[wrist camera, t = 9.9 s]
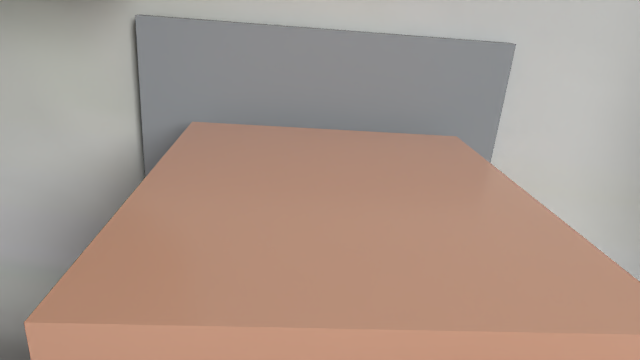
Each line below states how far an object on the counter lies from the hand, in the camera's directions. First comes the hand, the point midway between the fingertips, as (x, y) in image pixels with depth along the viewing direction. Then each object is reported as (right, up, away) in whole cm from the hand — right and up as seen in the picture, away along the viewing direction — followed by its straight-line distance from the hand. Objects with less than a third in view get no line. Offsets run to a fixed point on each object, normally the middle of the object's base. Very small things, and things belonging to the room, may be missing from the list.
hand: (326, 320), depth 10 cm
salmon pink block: (0, +1, +3) cm, 3 cm away
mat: (0, +3, +4) cm, 5 cm away
